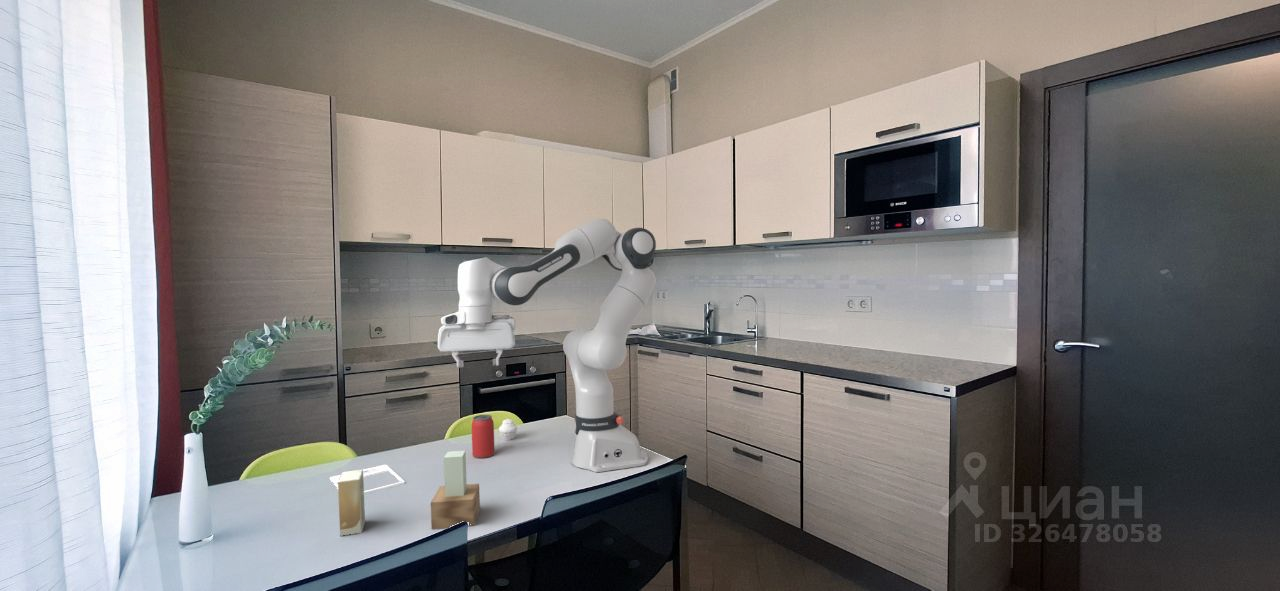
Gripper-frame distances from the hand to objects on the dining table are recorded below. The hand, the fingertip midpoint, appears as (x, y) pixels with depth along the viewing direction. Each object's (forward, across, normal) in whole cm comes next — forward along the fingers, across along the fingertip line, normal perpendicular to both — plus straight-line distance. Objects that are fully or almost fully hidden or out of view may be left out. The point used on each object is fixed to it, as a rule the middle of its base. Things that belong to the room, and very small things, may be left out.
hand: (478, 366), depth 146 cm
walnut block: (+31, +2, +25) cm, 40 cm away
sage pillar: (+25, +2, +25) cm, 35 cm away
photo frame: (+31, +31, -3) cm, 44 cm away
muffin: (+31, -4, -33) cm, 45 cm away
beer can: (+31, +2, -18) cm, 36 cm away
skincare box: (+31, +24, +26) cm, 47 cm away
